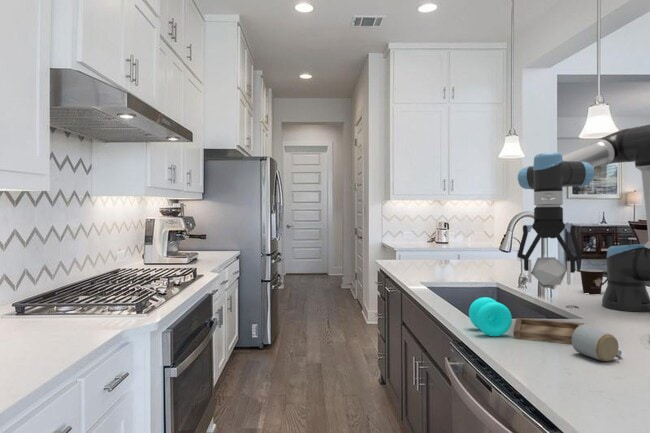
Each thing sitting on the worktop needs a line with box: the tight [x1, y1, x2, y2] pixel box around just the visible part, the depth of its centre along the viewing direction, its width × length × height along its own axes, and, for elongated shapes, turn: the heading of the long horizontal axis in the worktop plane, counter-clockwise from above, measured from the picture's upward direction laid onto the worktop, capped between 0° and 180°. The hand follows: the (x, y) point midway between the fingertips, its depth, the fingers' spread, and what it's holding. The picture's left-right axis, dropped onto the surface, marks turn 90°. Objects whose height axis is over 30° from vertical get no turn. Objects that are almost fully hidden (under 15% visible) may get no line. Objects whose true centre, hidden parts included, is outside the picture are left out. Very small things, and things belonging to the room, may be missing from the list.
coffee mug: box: [579, 268, 607, 294], centre depth 186 cm, size 12×9×10 cm
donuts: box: [468, 296, 513, 337], centre depth 130 cm, size 10×10×10 cm
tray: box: [513, 317, 585, 345], centre depth 127 cm, size 19×17×2 cm
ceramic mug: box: [571, 323, 623, 362], centre depth 107 cm, size 10×8×7 cm
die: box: [531, 256, 567, 286], centre depth 127 cm, size 8×9×10 cm
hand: (549, 282), depth 127 cm, fingers closed on die, 9 cm apart
